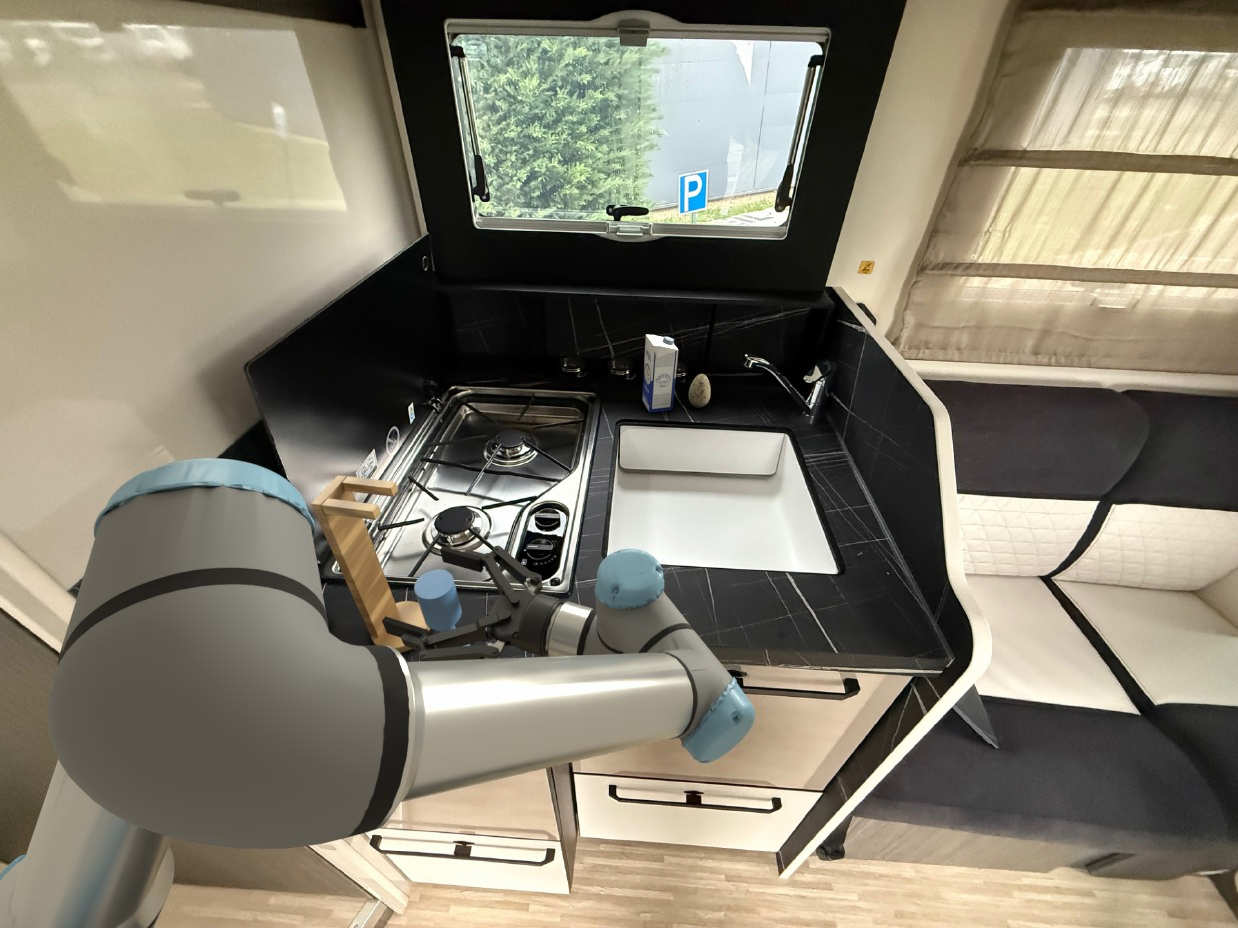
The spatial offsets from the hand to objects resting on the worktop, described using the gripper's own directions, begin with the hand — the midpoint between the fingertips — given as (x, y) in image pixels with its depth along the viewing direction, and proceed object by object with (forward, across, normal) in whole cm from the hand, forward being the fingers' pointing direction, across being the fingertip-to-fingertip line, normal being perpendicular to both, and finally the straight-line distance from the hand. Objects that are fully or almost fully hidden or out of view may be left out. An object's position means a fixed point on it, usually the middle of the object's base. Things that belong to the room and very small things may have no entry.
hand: (416, 586), depth 74 cm
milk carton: (-14, +86, -16) cm, 89 cm away
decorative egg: (-25, +89, -16) cm, 94 cm away
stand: (+7, +2, -16) cm, 18 cm away
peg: (-3, 0, -16) cm, 16 cm away
